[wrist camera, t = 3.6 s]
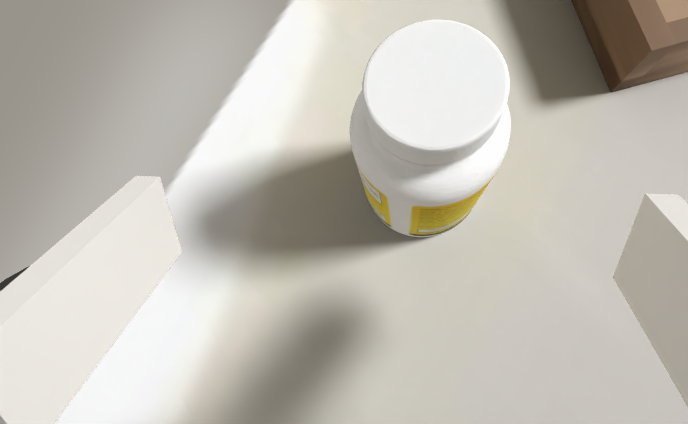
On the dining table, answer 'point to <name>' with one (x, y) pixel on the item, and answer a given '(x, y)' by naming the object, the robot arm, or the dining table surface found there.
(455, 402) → the dining table surface
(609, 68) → the walnut tray
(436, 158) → the supplement bottle
